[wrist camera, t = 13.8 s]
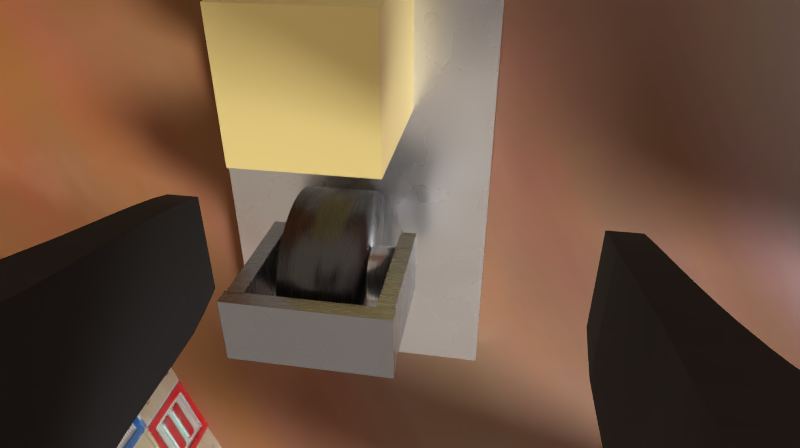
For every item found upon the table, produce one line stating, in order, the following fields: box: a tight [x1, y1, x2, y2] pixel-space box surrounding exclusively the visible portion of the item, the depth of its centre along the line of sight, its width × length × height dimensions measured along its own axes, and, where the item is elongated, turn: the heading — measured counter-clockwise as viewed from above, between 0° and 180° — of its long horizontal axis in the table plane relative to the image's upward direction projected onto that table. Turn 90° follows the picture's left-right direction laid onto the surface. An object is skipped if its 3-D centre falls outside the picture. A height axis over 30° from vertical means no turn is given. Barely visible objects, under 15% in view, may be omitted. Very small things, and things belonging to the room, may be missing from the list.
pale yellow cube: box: [200, 0, 414, 179], centre depth 16 cm, size 4×4×5 cm
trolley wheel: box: [217, 0, 504, 378], centre depth 19 cm, size 9×15×7 cm, turn 0°
